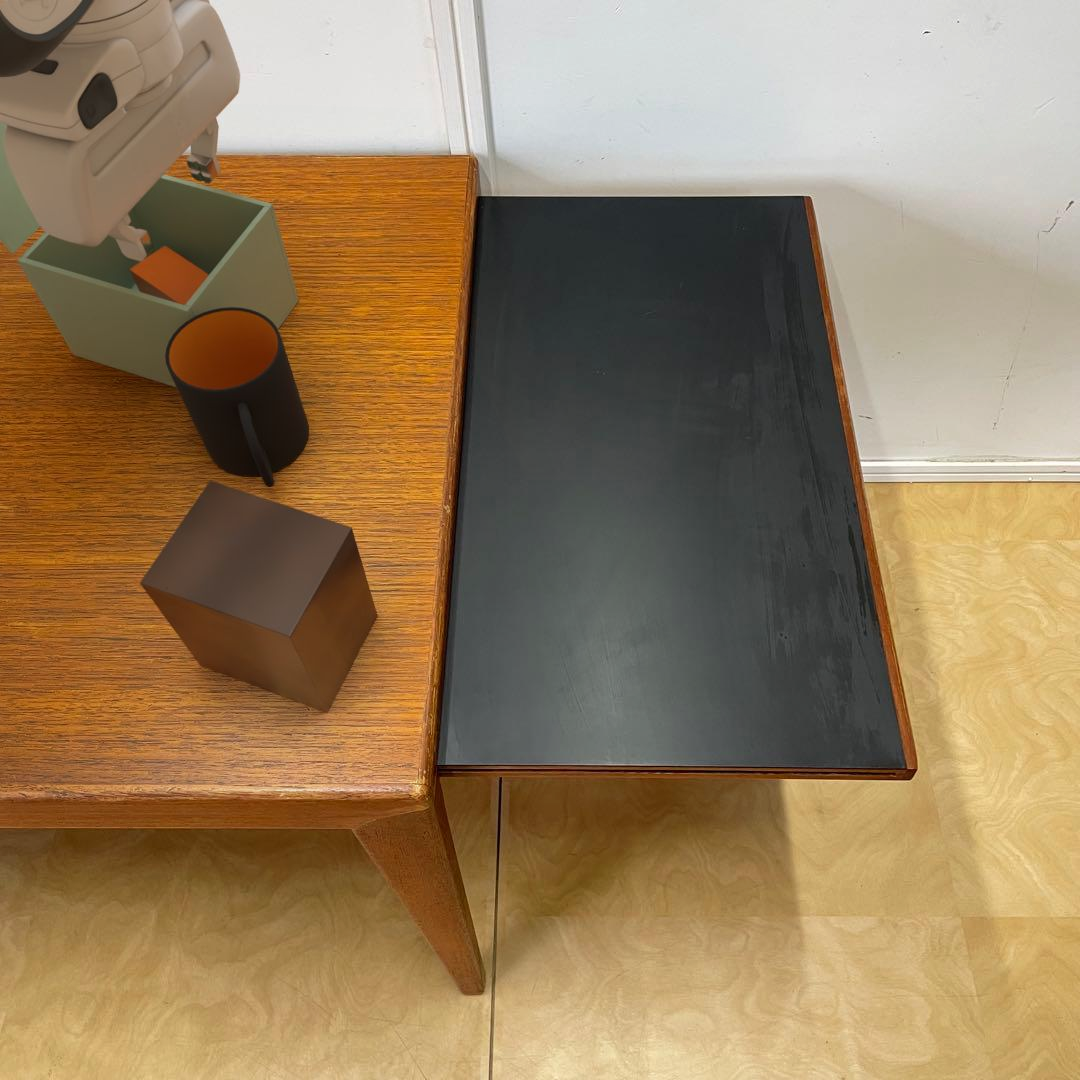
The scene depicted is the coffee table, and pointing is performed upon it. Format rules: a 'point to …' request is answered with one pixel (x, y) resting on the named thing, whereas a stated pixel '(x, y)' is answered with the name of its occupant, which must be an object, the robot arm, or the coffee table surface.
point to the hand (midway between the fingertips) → (174, 213)
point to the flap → (13, 206)
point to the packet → (168, 276)
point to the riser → (265, 594)
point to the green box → (147, 321)
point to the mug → (239, 391)
